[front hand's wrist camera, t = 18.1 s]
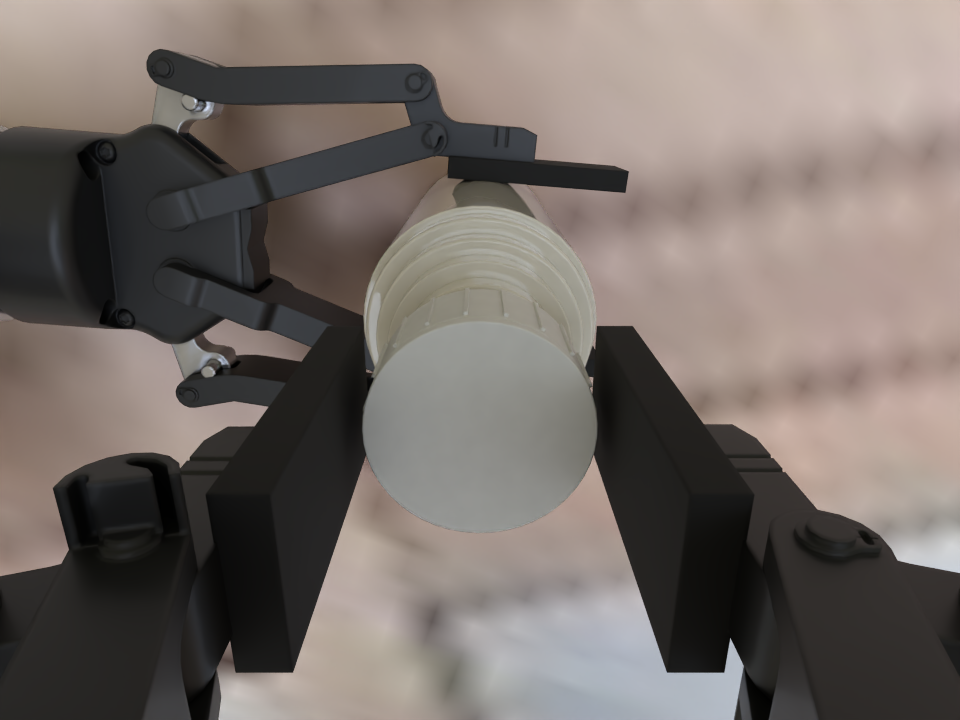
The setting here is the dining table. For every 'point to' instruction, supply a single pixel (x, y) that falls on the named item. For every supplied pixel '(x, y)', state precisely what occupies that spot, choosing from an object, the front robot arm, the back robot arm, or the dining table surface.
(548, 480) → the cap
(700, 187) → the dining table surface
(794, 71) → the dining table surface
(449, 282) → the bottle
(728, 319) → the dining table surface
